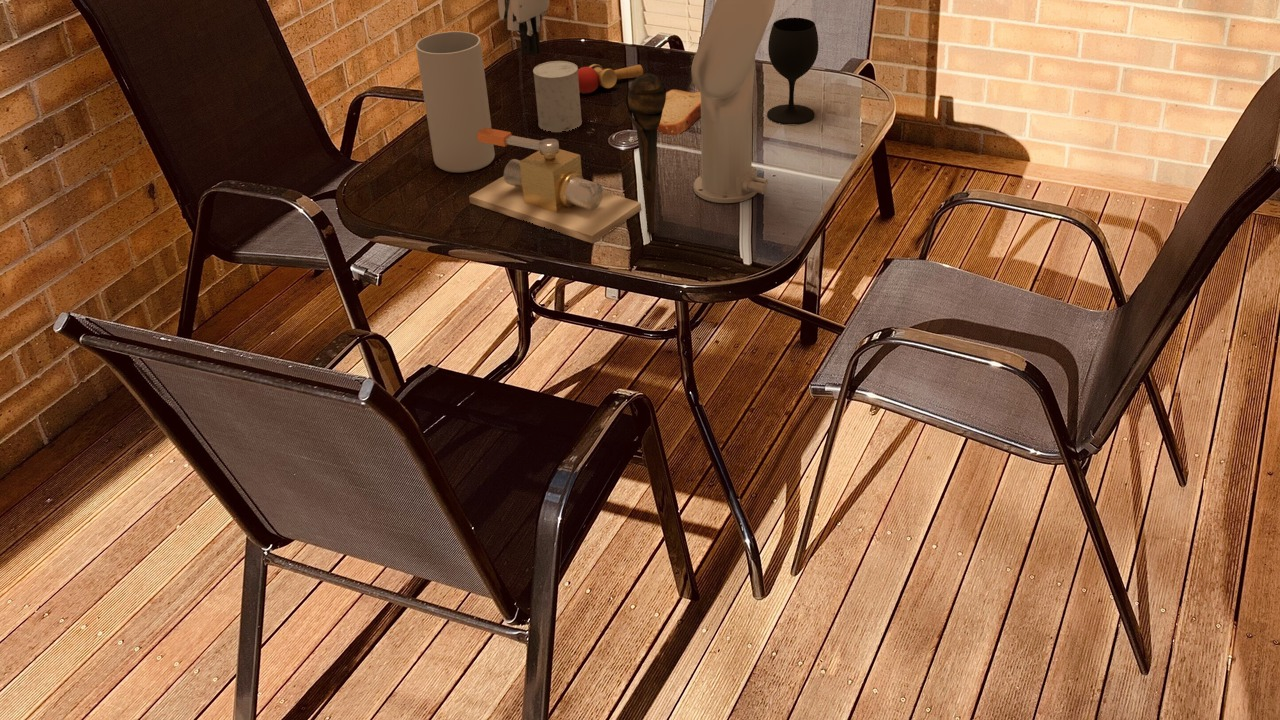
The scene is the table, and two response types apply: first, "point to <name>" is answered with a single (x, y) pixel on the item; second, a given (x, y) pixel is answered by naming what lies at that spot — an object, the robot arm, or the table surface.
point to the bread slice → (679, 111)
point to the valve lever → (518, 141)
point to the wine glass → (792, 63)
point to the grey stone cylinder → (557, 96)
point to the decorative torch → (647, 132)
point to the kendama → (604, 76)
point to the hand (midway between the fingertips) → (531, 53)
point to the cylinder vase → (455, 99)
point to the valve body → (553, 181)
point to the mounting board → (565, 221)
